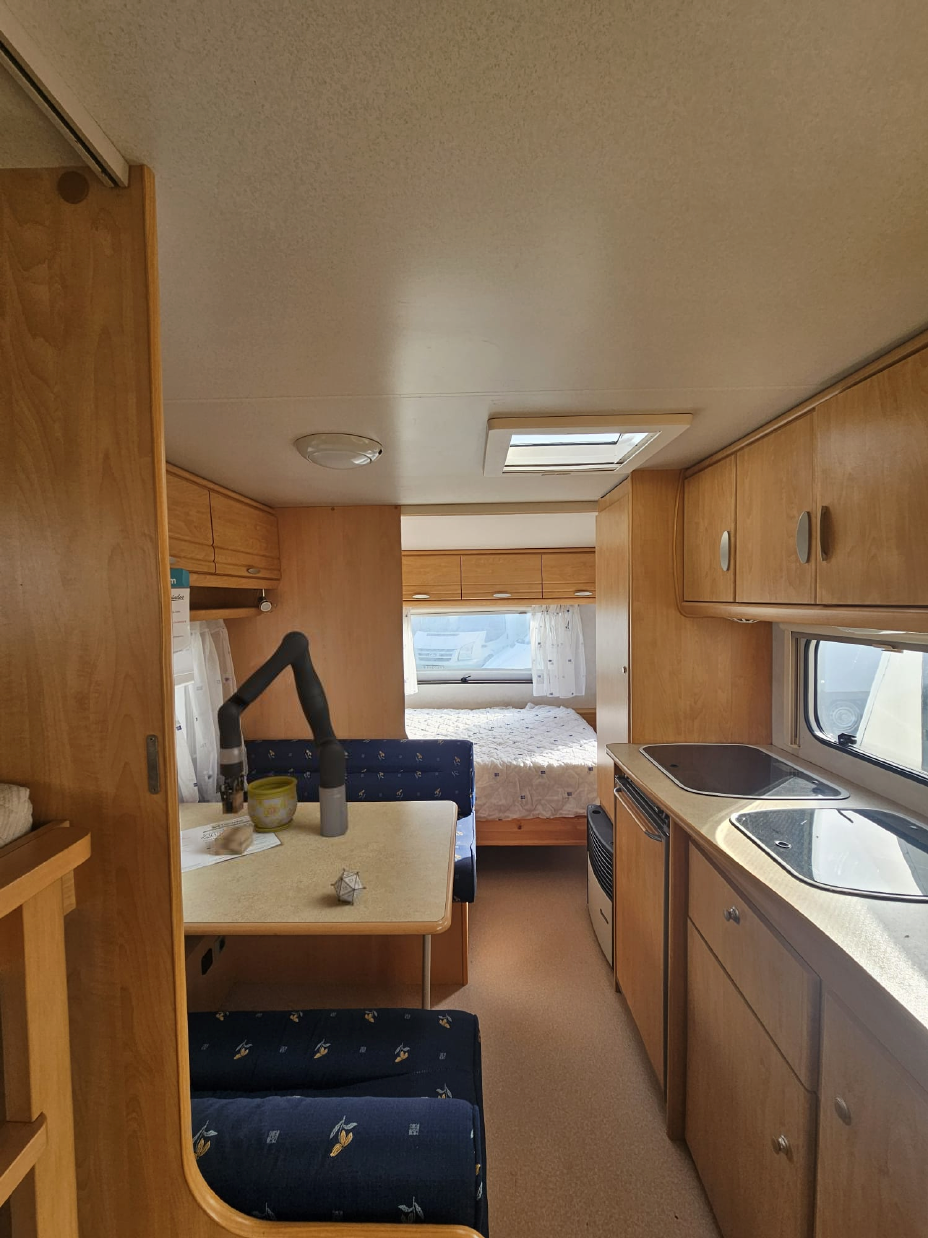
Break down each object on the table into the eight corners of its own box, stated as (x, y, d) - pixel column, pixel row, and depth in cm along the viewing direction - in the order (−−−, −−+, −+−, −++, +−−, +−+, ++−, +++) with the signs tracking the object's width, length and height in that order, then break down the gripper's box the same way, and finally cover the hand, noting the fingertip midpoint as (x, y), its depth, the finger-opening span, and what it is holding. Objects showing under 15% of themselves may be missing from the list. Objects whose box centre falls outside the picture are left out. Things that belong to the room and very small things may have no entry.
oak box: (253, 843, 183) (252, 826, 183) (242, 855, 174) (241, 837, 174) (228, 844, 184) (227, 827, 184) (215, 856, 174) (214, 838, 174)
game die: (344, 912, 144) (334, 875, 149) (372, 899, 145) (362, 862, 150) (332, 912, 136) (323, 873, 141) (363, 898, 137) (352, 860, 142)
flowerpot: (280, 814, 210) (278, 773, 210) (308, 823, 200) (306, 780, 200) (238, 830, 196) (236, 786, 196) (266, 840, 185) (264, 794, 185)
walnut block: (243, 808, 181) (243, 791, 181) (237, 813, 176) (236, 796, 176) (229, 808, 181) (228, 791, 181) (222, 814, 176) (221, 796, 176)
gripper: (232, 765, 172) (234, 817, 172) (251, 754, 186) (253, 801, 186) (210, 766, 172) (211, 817, 172) (230, 754, 186) (232, 802, 186)
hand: (233, 809), depth 179 cm, fingers closed on walnut block, 5 cm apart
